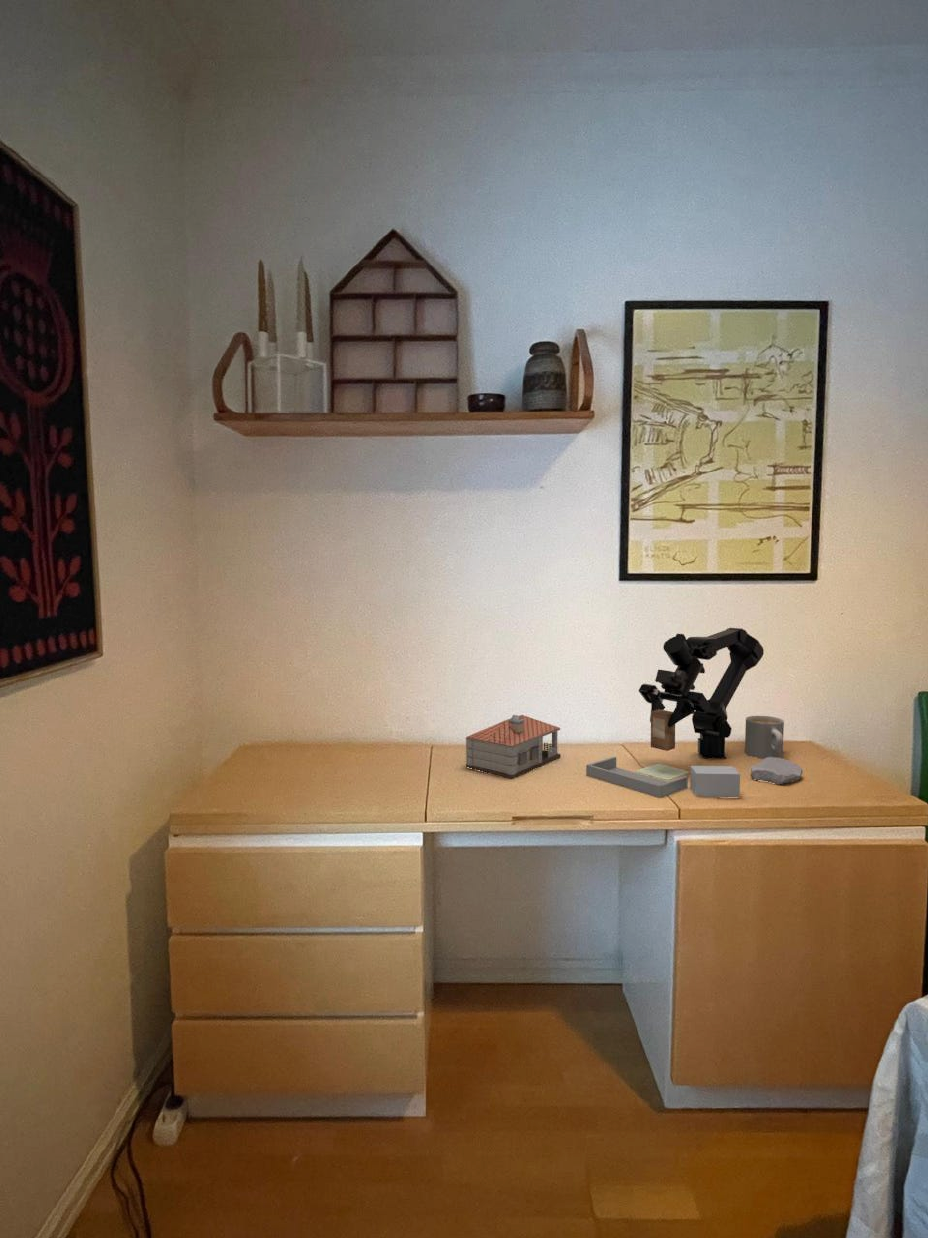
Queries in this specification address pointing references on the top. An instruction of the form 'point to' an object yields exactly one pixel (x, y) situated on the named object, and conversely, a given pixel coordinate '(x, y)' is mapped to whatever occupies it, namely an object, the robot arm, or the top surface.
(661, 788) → the parts tray
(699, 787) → the greyblue box
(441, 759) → the top surface
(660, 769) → the pad
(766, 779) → the stone block
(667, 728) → the walnut box
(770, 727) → the coffee mug
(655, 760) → the top surface
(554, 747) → the model house
